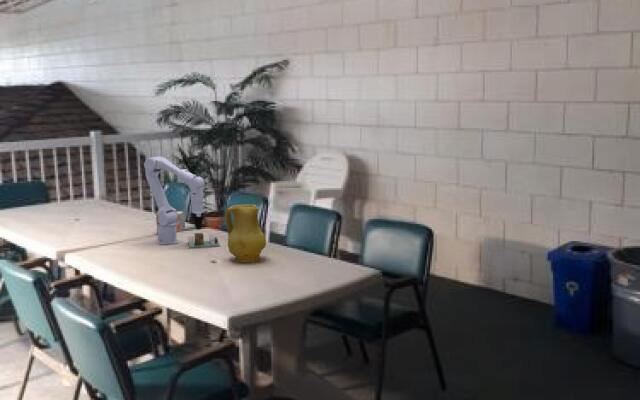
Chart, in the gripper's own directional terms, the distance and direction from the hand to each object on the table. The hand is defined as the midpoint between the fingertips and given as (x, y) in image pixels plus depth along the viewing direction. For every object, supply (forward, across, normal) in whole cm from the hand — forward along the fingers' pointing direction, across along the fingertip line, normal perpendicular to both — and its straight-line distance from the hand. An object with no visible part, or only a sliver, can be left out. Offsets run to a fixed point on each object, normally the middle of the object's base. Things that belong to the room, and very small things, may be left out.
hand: (198, 228), depth 323 cm
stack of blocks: (+9, +39, +12) cm, 42 cm away
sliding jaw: (+8, 0, -7) cm, 11 cm away
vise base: (+8, 0, -3) cm, 9 cm away
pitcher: (+9, -34, -19) cm, 40 cm away
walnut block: (+8, 0, 0) cm, 8 cm away
